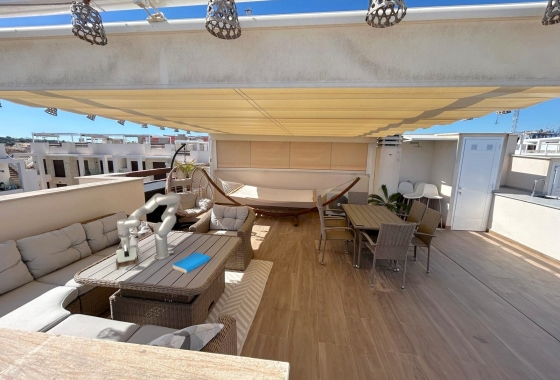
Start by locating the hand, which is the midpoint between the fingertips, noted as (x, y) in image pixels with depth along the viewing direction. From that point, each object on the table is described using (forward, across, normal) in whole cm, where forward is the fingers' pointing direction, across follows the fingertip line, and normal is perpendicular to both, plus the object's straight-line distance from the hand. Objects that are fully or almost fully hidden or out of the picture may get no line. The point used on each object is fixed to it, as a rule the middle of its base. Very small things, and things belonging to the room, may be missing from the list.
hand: (127, 255), depth 182 cm
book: (+11, -21, -46) cm, 51 cm away
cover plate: (+4, 0, 0) cm, 4 cm away
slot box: (+9, +5, +1) cm, 11 cm away
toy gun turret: (+10, +21, -4) cm, 24 cm away
